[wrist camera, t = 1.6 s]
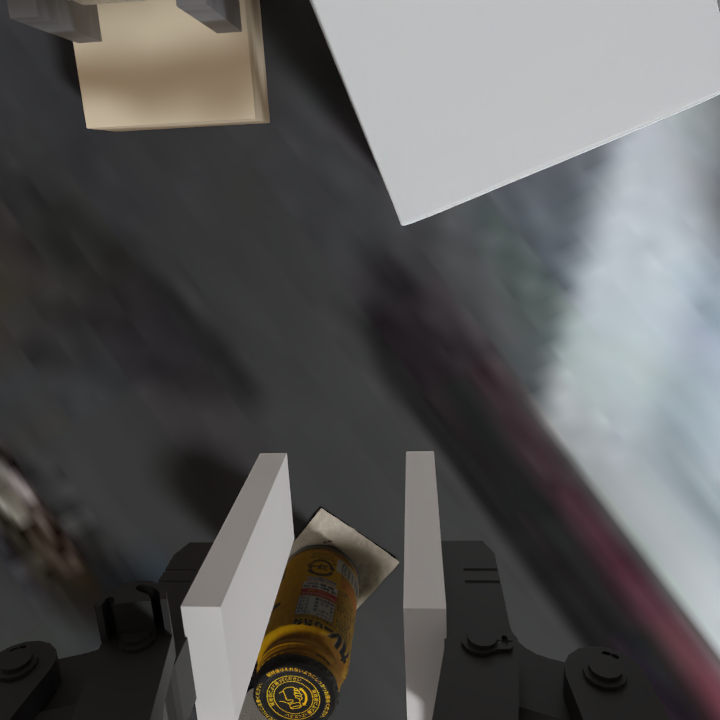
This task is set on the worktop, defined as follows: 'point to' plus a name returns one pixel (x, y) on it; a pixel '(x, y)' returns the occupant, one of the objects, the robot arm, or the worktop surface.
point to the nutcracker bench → (161, 60)
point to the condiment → (316, 619)
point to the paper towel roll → (250, 709)
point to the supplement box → (510, 83)
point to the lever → (102, 1)
